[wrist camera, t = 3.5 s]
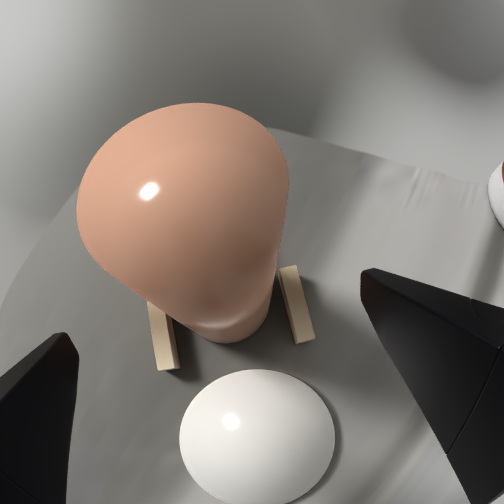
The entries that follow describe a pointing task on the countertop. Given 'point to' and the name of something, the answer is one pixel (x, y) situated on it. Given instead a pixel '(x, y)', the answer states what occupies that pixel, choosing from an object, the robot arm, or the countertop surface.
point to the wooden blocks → (294, 306)
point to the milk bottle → (497, 193)
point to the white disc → (257, 438)
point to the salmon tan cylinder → (190, 215)
